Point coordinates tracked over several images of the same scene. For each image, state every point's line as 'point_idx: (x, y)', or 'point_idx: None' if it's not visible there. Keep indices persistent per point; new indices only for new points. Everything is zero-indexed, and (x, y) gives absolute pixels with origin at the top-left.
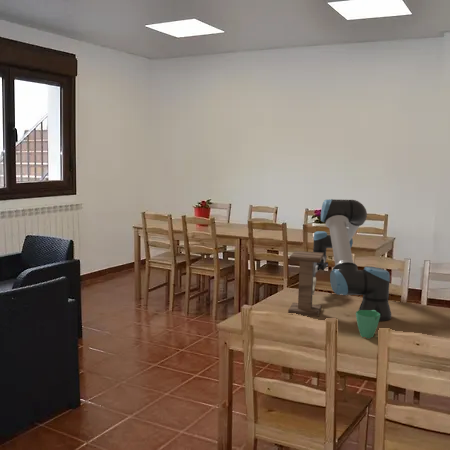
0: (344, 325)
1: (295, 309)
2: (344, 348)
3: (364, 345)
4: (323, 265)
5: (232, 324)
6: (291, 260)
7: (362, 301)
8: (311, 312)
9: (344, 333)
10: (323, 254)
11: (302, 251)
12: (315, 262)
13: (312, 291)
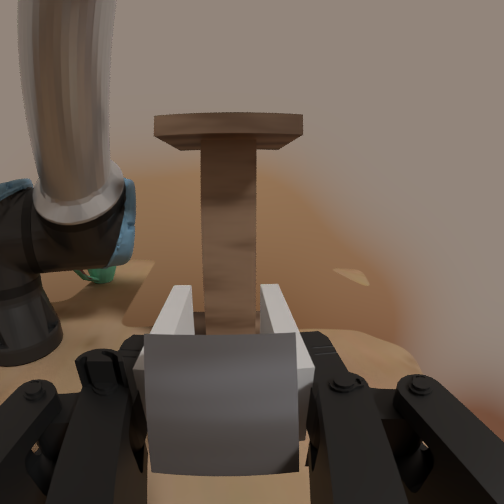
0: (126, 301)
1: (256, 316)
2: (152, 260)
3: (121, 266)
4: (28, 383)
5: (346, 273)
6: (272, 149)
7: (40, 299)
8: (204, 312)
9: (138, 282)
10: (155, 124)
11: (263, 113)
12: (184, 335)
13: (203, 284)
